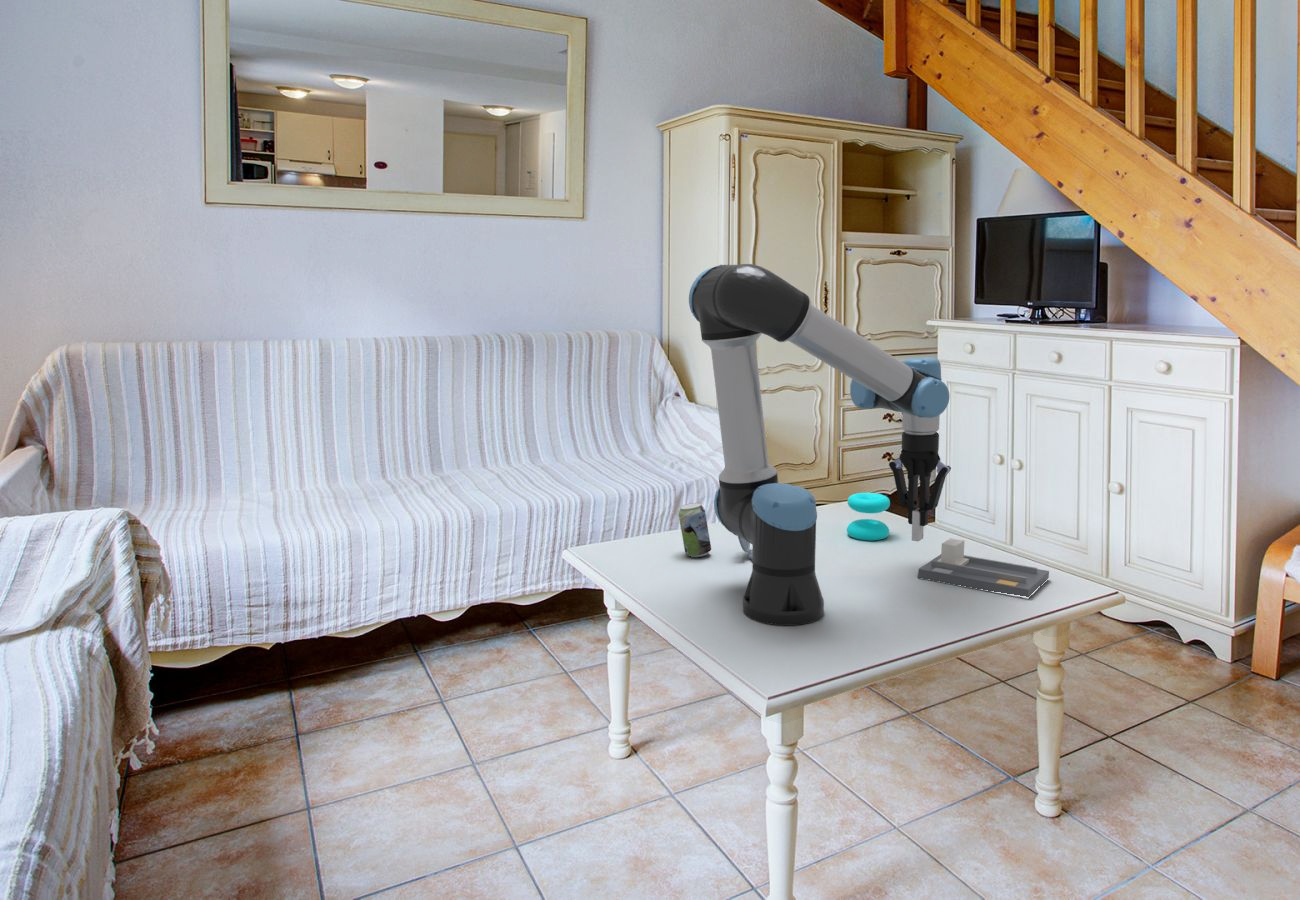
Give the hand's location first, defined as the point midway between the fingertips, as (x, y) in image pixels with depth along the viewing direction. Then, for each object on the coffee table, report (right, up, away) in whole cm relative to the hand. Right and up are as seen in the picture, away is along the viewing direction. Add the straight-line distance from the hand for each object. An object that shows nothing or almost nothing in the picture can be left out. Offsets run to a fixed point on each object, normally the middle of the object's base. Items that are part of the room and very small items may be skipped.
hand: (917, 539), depth 194 cm
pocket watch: (-31, -6, +8) cm, 32 cm away
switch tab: (+6, -5, -4) cm, 9 cm away
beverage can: (-47, -5, +12) cm, 49 cm away
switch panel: (+11, -7, -8) cm, 16 cm away
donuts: (-5, -2, +25) cm, 25 cm away
